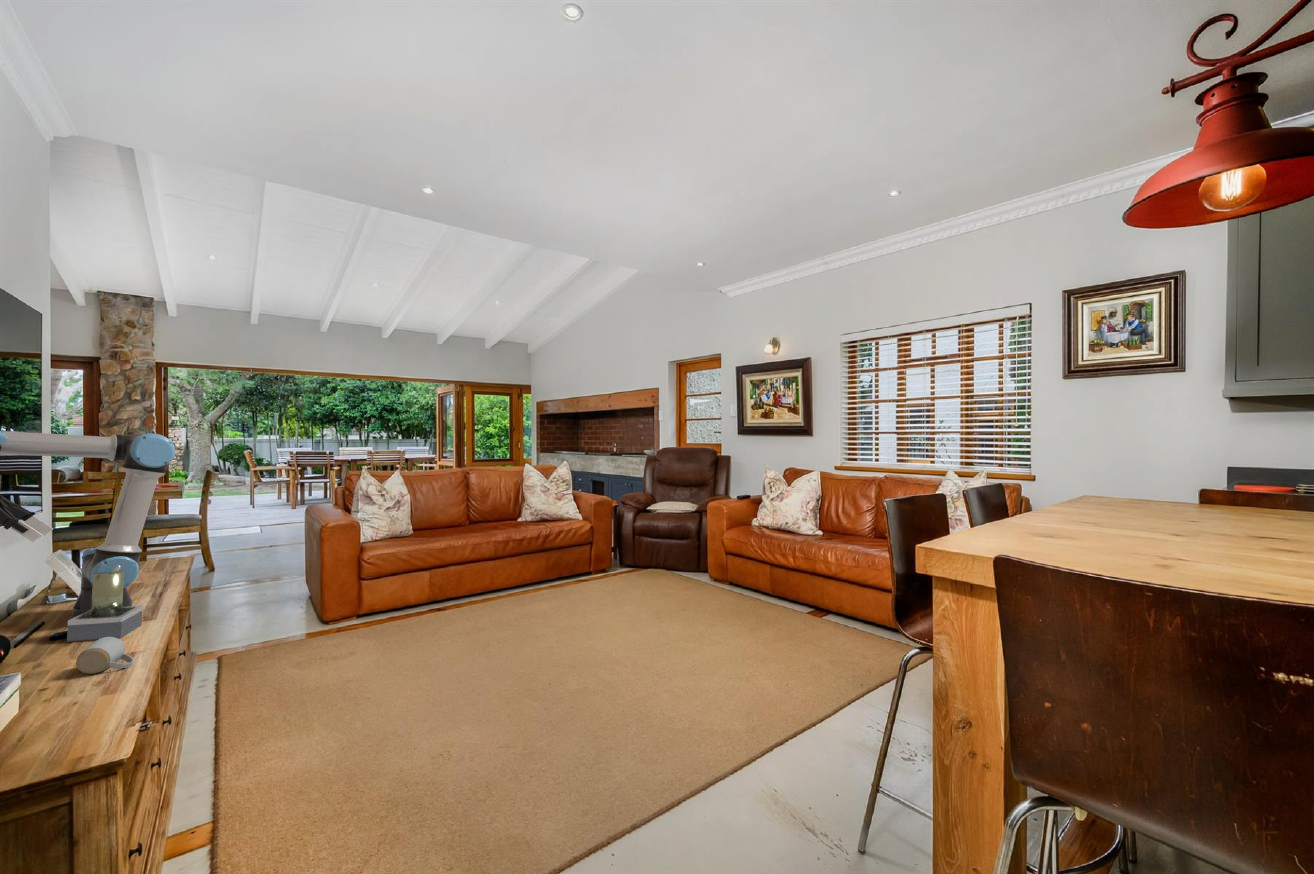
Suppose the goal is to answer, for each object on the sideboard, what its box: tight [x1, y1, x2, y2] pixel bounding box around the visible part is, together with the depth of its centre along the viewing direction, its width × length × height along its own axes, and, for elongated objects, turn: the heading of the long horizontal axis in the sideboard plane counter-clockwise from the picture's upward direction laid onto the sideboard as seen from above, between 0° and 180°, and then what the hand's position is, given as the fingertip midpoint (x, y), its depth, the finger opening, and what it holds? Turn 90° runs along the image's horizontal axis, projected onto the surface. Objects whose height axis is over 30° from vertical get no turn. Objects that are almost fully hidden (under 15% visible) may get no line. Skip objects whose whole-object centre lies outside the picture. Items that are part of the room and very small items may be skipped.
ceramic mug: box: [75, 637, 135, 675], centre depth 150 cm, size 11×8×8 cm
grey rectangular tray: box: [66, 605, 143, 643], centre depth 178 cm, size 16×13×6 cm
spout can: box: [91, 565, 124, 618], centre depth 177 cm, size 7×7×16 cm
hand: (43, 535), depth 174 cm, fingers open, 13 cm apart
